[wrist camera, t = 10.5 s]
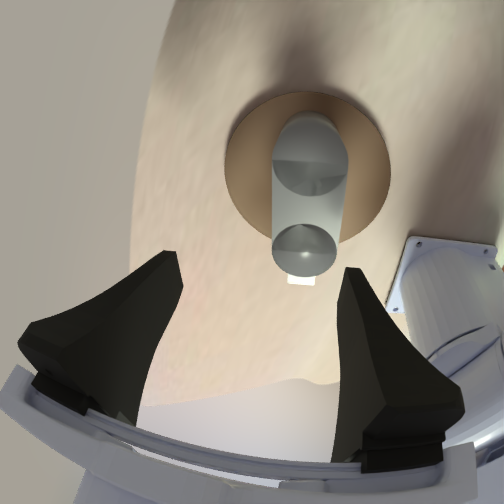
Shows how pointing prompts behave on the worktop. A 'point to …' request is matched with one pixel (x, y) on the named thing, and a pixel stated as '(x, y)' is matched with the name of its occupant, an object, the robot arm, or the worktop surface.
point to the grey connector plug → (307, 195)
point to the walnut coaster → (263, 142)
